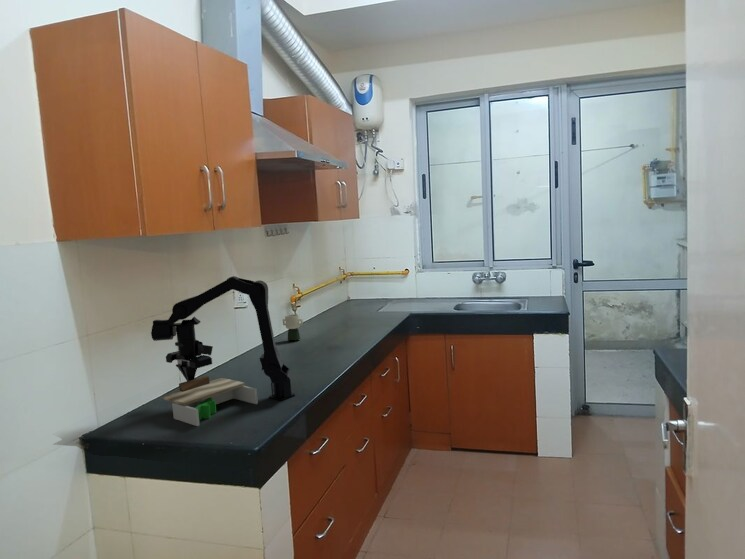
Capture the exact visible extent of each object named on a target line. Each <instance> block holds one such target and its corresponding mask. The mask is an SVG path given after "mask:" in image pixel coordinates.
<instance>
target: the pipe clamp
mask: <svg viewBox="0 0 745 559" xmlns="http://www.w3.org/2000/svg"><path fill="white" fill-rule="evenodd" d="M196 409H198V414H199V422H200V421H201V420H203V419H211V418H212V416H211V415H212V414H217V404H216V403H215V400H212V398H207V399H206V400H205V401H203V402H202V403H201V404H200V405H198V406H197V407H196Z"/></svg>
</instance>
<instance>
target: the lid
mask: <svg viewBox="0 0 745 559" xmlns="http://www.w3.org/2000/svg"><path fill="white" fill-rule="evenodd" d="M241 386H246V382H243V381H239V380H233V379H229V378H224V377H220V378H217V379H214V380H210V376H209V375H204V376H200V377H196V378H194V379H193V380H189V381H187V380H186V381H183V382H180V383H178V391H175V392H172V393H169V394H168V393H167V394H165V395H162V396H161V400H165V401H168V402H171V403H173V402H174V403H177V404H181V405H184V406H185V405H188V404H191V403H194V402H197V401H200V400H202V399H205V398H208V397H211V396H214V395H217V394H220V393H223V392H226V391H229V390H232V389H235V388H238V387H241Z"/></svg>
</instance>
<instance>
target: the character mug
mask: <svg viewBox="0 0 745 559" xmlns="http://www.w3.org/2000/svg"><path fill="white" fill-rule="evenodd" d="M303 324H304V323H303V318H301V317H300V314H298V313H297V314H296V313H294V314H293V313H292V314H291V313H290V314H287V315H284V318H282V325H283V326H285V328H286V329H288V330H287V340H288V341H289V340H295V341H296V340H297V339H299V340H301V336H300V330H299V329H298V328H300V327H301V326H303ZM297 341H298V340H297Z"/></svg>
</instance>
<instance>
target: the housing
mask: <svg viewBox="0 0 745 559" xmlns="http://www.w3.org/2000/svg"><path fill="white" fill-rule="evenodd" d="M257 391H258V390H257V388H255V387H251V386H246V385H244V386H241V387H238V388H235V389H232V390H229V391H226V392H223V393H220V394H217V395H214V396H211V397H208V398H212V400H215V403H216V405H218V404H221V403H224V402H228V401H229V400H233V399H234V400H239V401H242V402H245V403H249V404H254V405H258V404H259V401H258V400H259V398H258V392H257ZM206 399H207V398H205V399H202V400H200V401H197V402H194V403H191V404H188V405H185V406H184V405H181V404H177V403H174V402H171V405H172V407H171V408H172V415H173V419H174V420H177V421H180V422H183V423H186V424H189V425H193V426H196V427H199V426H200V421H199V414H198V409H196V407H197V406H198V405H200V404H201V403H202V402H203V401H205V400H206Z"/></svg>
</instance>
